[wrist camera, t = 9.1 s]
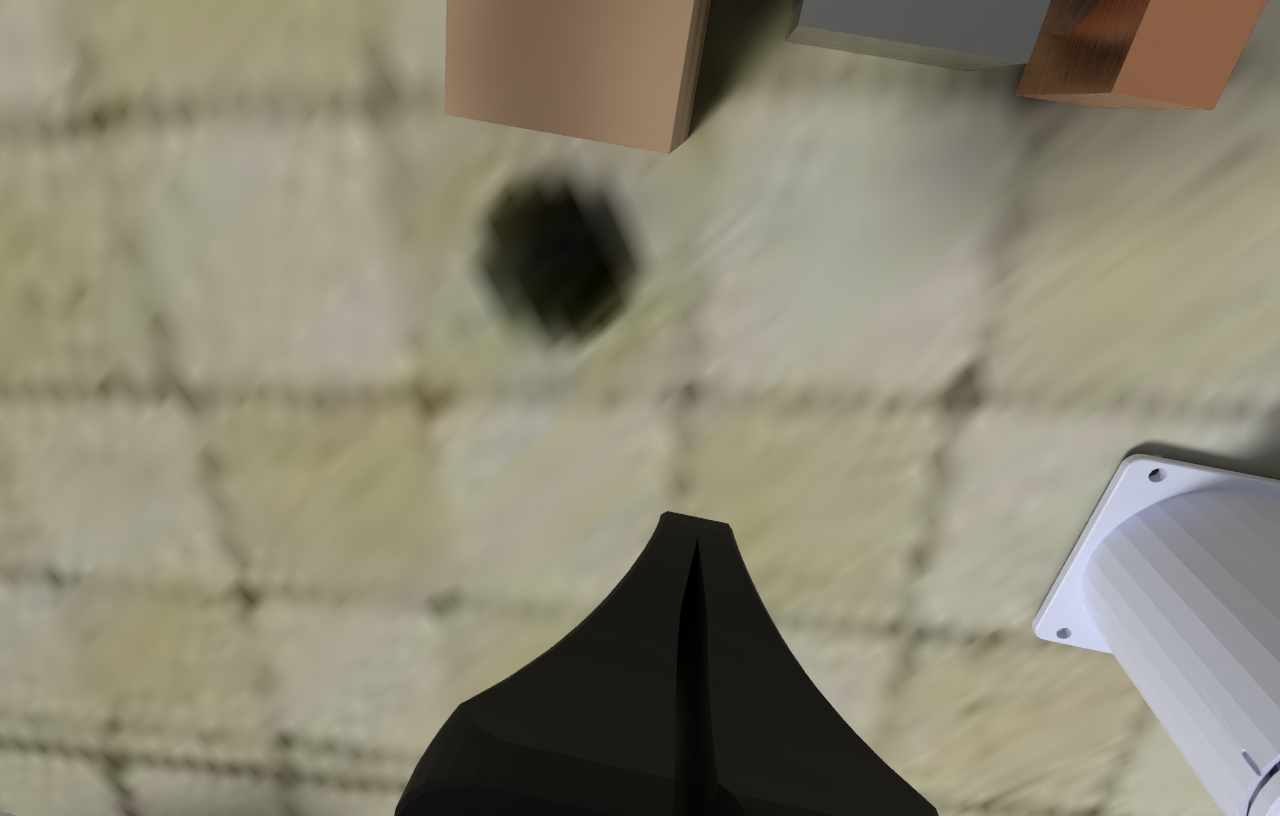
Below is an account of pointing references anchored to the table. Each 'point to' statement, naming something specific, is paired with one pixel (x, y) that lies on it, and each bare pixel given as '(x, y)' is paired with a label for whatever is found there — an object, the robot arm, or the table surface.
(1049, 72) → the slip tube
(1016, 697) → the table surface
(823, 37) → the grey channel block
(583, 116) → the socket block
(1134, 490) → the robot arm
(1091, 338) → the table surface
